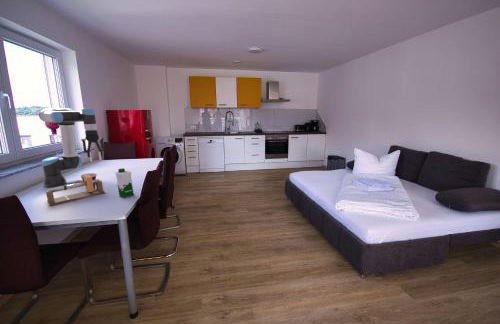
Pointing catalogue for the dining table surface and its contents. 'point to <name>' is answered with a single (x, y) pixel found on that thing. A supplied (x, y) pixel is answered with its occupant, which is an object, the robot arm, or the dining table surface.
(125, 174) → the milk carton
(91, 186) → the collar
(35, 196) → the dining table surface
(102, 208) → the dining table surface
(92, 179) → the plastic cup
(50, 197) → the pipe stand
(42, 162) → the robot arm
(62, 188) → the steel pipe
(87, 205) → the dining table surface
